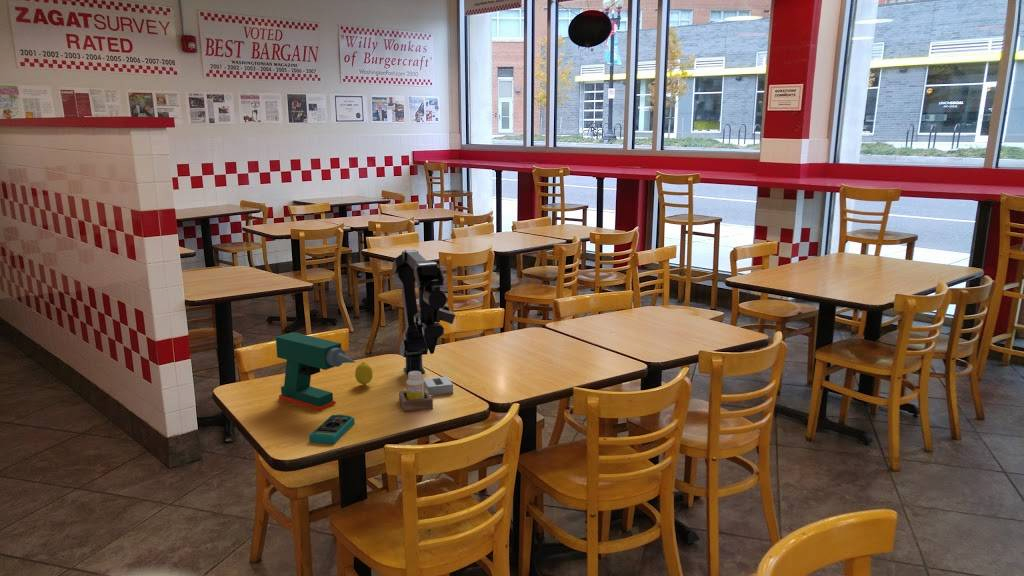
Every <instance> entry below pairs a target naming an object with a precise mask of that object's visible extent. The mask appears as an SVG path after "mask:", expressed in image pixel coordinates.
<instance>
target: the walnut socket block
mask: <svg viewBox="0 0 1024 576" xmlns="http://www.w3.org/2000/svg"><path fill="white" fill-rule="evenodd" d="M398 400H399V403H400V406H401V408H402V410H403V412H404V413H410V412H419V411H426V410H428V409H429V410H433V409H434V405H433V403H434V400H433V398H432V396H430V394H429V392H428V391H427V389H424V398H423V399H414V400H407V390H402V391H401V390H400V391H398Z"/></svg>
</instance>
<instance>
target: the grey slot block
mask: <svg viewBox="0 0 1024 576" xmlns="http://www.w3.org/2000/svg"><path fill="white" fill-rule="evenodd" d="M422 379H423V380H424V389H427V391H428V392H429V394H430V395H434V396H437V395H436V394H443V395H447V394H446V393H452V394H454V384H453V383H452V381H451V379H450V378H449V376H439V377H429V378H422Z"/></svg>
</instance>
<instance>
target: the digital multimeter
mask: <svg viewBox="0 0 1024 576" xmlns="http://www.w3.org/2000/svg"><path fill="white" fill-rule="evenodd" d="M355 424H356V423H355V417H354V416H351V415H345V414H331V415H329V417H328V418H327V419H326V420H325V421H324V422H322V423H321V424H320V425H319V426H318V427H317V428H315V429H314V430H313V431H312V432H311V433H310V434H309V435H308V437H309V438H308V440H309V442H310V443H314V444H325V445H326V444H327V445H334V444H336V443H337V442H338V441H339V439H340V438H342V436H343V435H344V434H346V432H347V431H348V430H349V429H351V428H352V427H353V426H354V425H355Z"/></svg>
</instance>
